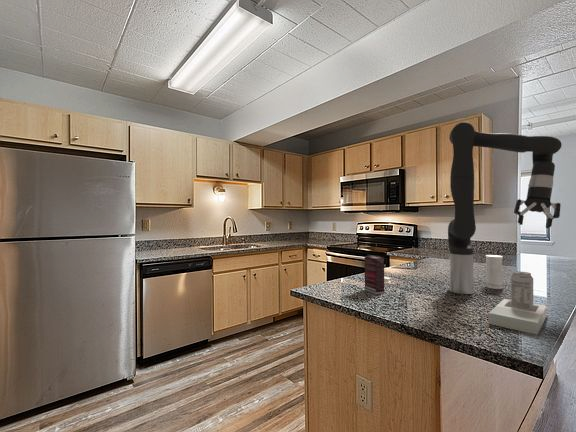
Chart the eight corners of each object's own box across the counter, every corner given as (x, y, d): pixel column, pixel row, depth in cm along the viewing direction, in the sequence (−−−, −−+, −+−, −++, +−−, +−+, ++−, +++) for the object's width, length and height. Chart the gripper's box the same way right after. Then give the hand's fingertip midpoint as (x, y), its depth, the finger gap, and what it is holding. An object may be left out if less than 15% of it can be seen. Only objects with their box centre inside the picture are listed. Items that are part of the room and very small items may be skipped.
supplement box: (385, 293, 131) (384, 257, 131) (376, 294, 129) (376, 258, 129) (372, 288, 139) (372, 255, 139) (364, 290, 137) (363, 256, 137)
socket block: (488, 323, 95) (488, 312, 94) (504, 308, 110) (504, 298, 110) (537, 334, 86) (537, 322, 86) (546, 316, 101) (546, 306, 101)
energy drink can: (536, 317, 100) (536, 273, 100) (528, 320, 97) (528, 275, 97) (515, 312, 105) (515, 270, 105) (507, 315, 102) (507, 272, 102)
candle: (481, 286, 143) (481, 255, 143) (493, 285, 144) (493, 254, 144) (494, 289, 136) (494, 257, 136) (506, 288, 138) (506, 256, 138)
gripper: (520, 184, 121) (513, 223, 121) (566, 187, 114) (559, 228, 114) (516, 187, 127) (510, 224, 127) (560, 190, 120) (553, 229, 120)
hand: (533, 226), depth 120 cm, fingers open, 8 cm apart
